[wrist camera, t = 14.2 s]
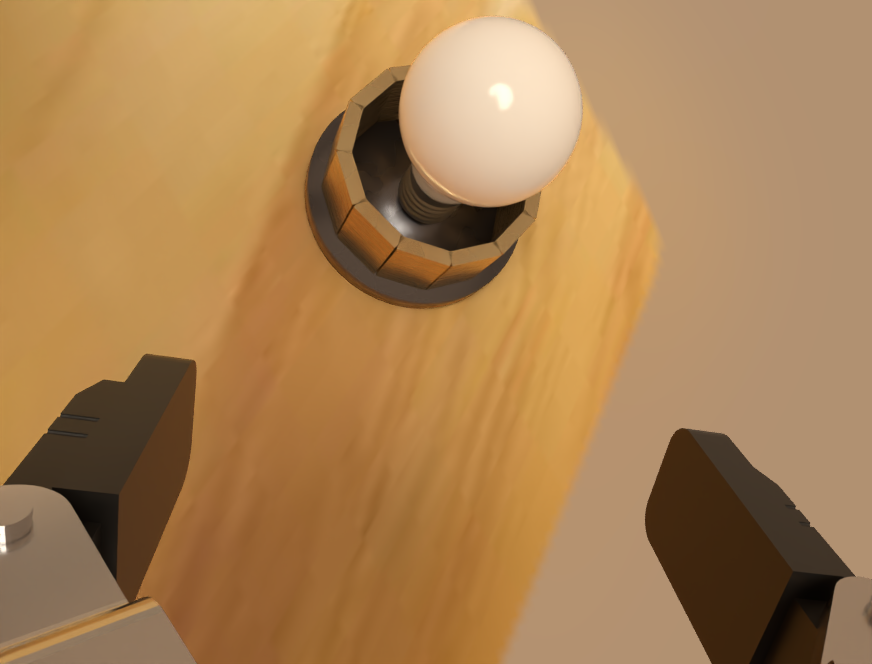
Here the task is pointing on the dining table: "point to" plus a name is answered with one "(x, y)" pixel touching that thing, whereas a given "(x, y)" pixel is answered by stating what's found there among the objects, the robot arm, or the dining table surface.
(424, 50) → the lightbulb
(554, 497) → the dining table surface
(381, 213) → the bulb holder
